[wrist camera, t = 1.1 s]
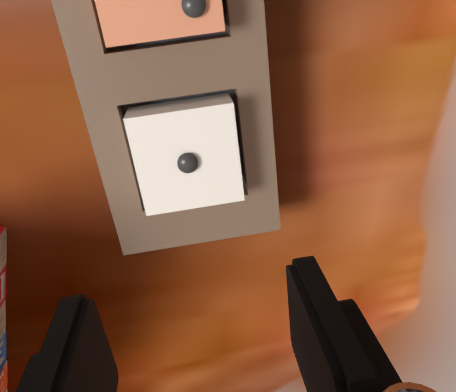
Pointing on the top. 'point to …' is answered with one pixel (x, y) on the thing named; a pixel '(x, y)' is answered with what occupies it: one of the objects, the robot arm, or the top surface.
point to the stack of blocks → (3, 310)
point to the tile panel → (172, 91)
